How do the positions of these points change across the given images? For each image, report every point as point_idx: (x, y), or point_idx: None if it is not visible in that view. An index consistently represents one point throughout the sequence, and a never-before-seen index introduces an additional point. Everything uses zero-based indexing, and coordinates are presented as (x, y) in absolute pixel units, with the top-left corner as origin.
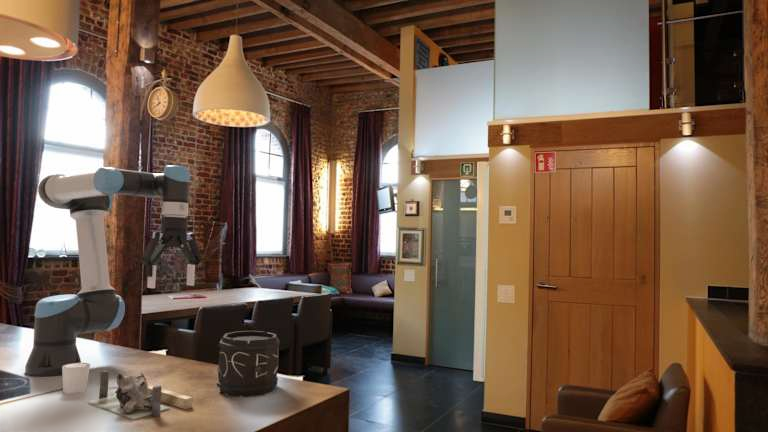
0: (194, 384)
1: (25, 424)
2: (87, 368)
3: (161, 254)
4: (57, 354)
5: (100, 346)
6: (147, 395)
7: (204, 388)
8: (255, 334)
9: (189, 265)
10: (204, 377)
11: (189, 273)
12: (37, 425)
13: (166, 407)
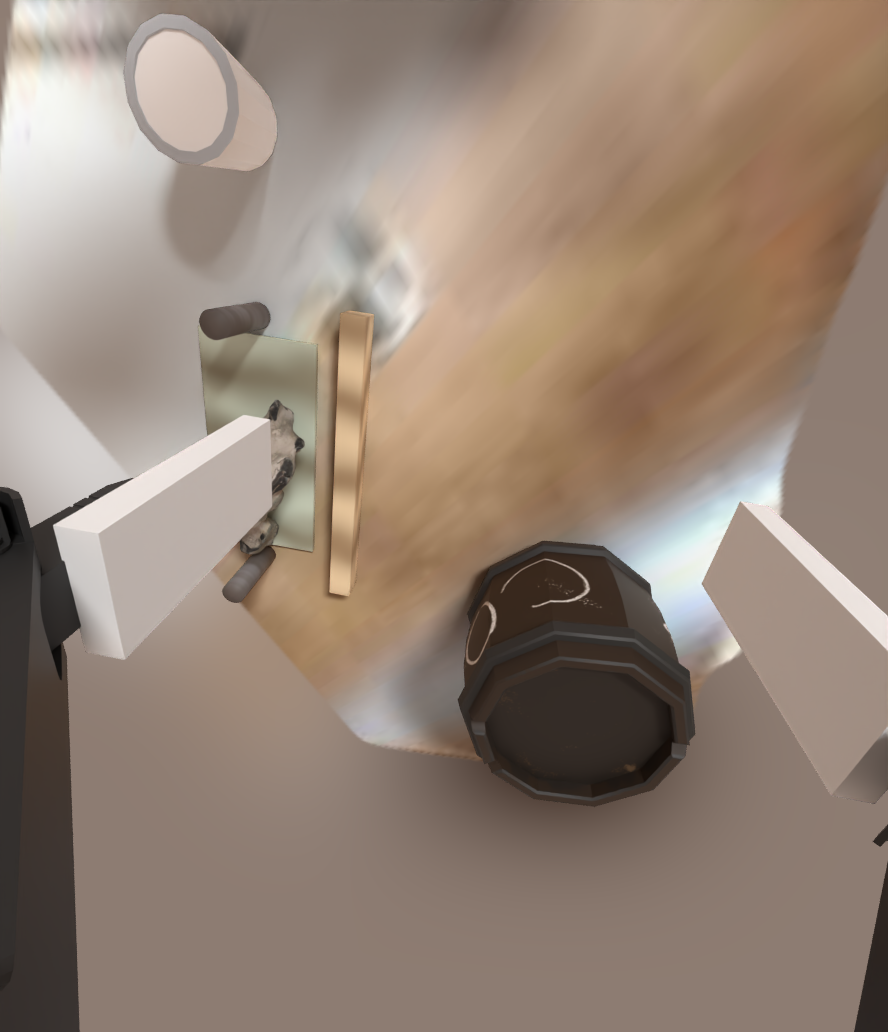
0: (526, 451)
1: (21, 344)
2: (218, 159)
3: (65, 868)
4: None
5: None
6: (258, 528)
7: (504, 506)
8: (668, 709)
9: (873, 713)
10: (620, 419)
11: (790, 624)
12: (43, 378)
13: (308, 545)
